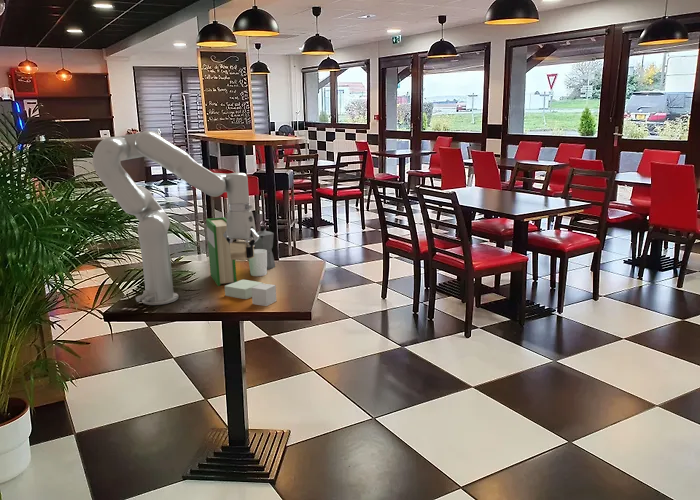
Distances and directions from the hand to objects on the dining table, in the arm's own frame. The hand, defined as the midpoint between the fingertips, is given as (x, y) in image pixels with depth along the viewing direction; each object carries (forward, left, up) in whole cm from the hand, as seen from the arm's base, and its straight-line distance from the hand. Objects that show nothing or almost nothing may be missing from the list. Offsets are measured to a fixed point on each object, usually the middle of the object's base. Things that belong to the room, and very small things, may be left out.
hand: (242, 255), depth 208 cm
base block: (0, 0, -15) cm, 15 cm away
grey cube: (-6, -13, -15) cm, 20 cm away
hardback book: (+13, +20, -15) cm, 28 cm away
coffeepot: (+37, +16, -15) cm, 43 cm away
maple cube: (0, 0, -1) cm, 1 cm away
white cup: (+25, +11, -15) cm, 31 cm away
